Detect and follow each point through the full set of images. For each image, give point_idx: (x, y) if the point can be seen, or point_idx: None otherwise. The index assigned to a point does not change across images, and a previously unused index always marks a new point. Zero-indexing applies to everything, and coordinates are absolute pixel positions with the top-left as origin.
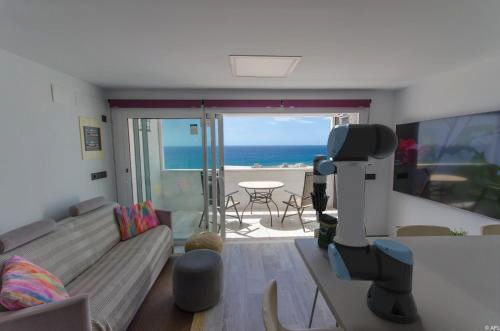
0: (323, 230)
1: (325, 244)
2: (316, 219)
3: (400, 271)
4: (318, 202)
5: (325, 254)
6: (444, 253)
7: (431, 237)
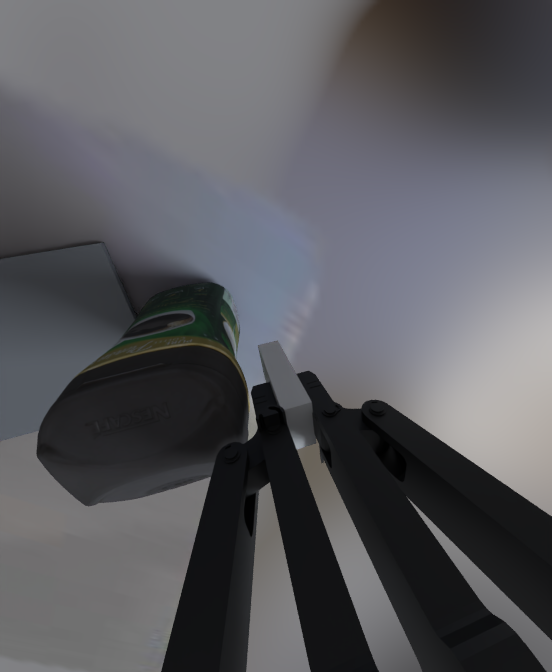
0: (151, 323)
1: (153, 299)
2: (282, 351)
3: None
4: (377, 553)
5: (94, 255)
6: (70, 602)
7: None
